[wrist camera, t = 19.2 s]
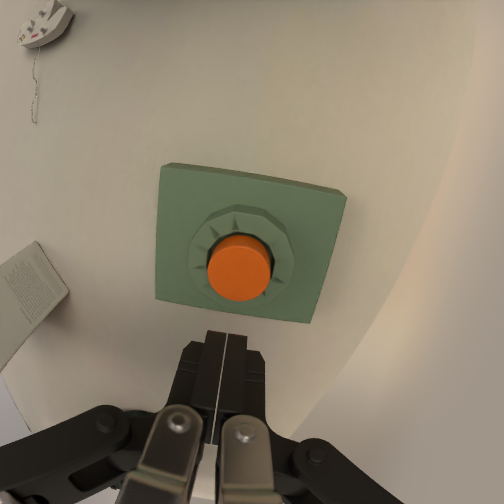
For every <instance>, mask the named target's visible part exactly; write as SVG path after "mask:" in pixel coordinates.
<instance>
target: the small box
mask: <svg viewBox="0 0 504 504" xmlns="http://www.w3.org/2000/svg"><path fill="white" fill-rule="evenodd" d="M68 293H69V289H68V288H67V287H66V285H65V284H64V283H63V281H62V280H61V278H60V277H59V275H58V274H57V273H56V271H55V270H54V268H53V267H52V265H51V264H50V262H49V260H48V259H47V257H46V256H45V254H44V252H43V251H42V249H41V248H40V246H39V245H38V243H37V242H36V241H35V242H33V243H32V244H30V245H29V246H27V247H26V248H24V249H23V250H21V251H20V252H19V253H17V254H16V255H14V256H13V257H12V258H10V259H9V260H7V261H6V262H5V263H3V264H2V265H1V266H0V372H1V371H2V370H3V368H4V367H5V366H6V365H7V363H8V362H9V361H10V359H11V358H12V357H13V355H14V354H15V353H16V352H17V351H18V349H19V348H20V347H21V346H22V344H23V343H24V342H25V341H26V340H27V338H28V337H29V336H30V335H31V334H32V333H33V331H34V330H35V329H36V328H37V327H38V326H39V324H40V323H41V322H42V321H43V320H44V319H45V318H46V316H47V315H48V314H49V313H50V312H51V311H52V310H53V309H54V308H55V307H56V306H57V305H58V304H59V302H60V301H61V300H62V299H63V298H64V297H65V296H66V295H67V294H68Z"/></svg>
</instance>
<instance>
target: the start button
mask: <svg viewBox="0 0 504 504" xmlns="http://www.w3.org/2000/svg"><path fill="white" fill-rule="evenodd" d="M207 274H208V279H209V282H210V284H211V286H212V288H213V289H214V290H215V291H216V292H217V293H218V294H219V295H221V296H222V297H224V298H226V299H229V300H233V301H247V300H251V299H254V298H256V297H257V296H259V295H260V294H261V293H262V292H263V291H264V290H265V289H266V288H267V286H268V284H269V281H270V259H269V255H268V252H267V250H266V249H265V247H264V246H263V245H262V244H261V243H260V242H259V241H257V240H256V239H254V238H252V237H249V236H243V235H236V236H231V237H228V238H226V239H224V240H223V241H221V242H220V243H219V244H218V245H217V246H216V248H215V249H214V251H213V254H212V257H211V259H210V262H209V265H208V269H207Z"/></svg>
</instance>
